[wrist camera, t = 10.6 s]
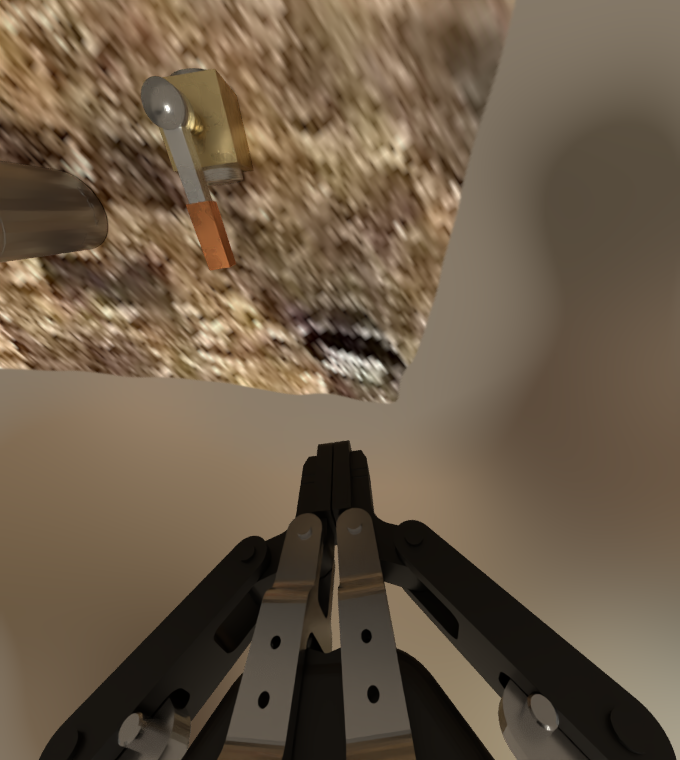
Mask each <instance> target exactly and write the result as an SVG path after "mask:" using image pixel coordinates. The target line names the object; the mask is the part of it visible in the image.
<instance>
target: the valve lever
mask: <svg viewBox="0 0 680 760" xmlns="http://www.w3.org/2000/svg"><path fill="white" fill-rule="evenodd" d="M141 100H142V104H143V107H144V110H145V112H146V114H147V115H148V117H149V118H150V119H151V121H152V122H153V123H155V124H156V125H157V126H159V127H161V128H163V131H164V134H165V136H166V139H167V142H168V145H169V148H170V150H171V153H172V156H173V159H174V162H175V164H176V167H177V170H178V173H179V176H180V178H181V181H182V184H183V187H184V190H185V192H186V195H187V198H188V201H189V203H190V204H187V205H186V207H187V209H188V212H189V215H190V217H191V220H192V223H193V226H194V228H195V231H196V234H197V237H198V239H199V242H200V245H201V248H202V250H203V253H204V256H205V259H206V261H207V264H208V267H209V270H215V269H221V268H227V267H231V266H233V265H235V264H236V263H235V260H234V256H233V253H232V250H231V247H230V244H229V241H228V237H227V234H226V231H225V228H224V225H223V222H222V218H221V215H220V212H219V209H218V206H217V203H216V202H215V201H212V198H211V195H210V192H209V189H208V186H207V183H206V180H205V177H204V174H203V170H202V167H201V164H200V161H199V158H198V155H197V152H196V149H195V146H194V142H193V139H192V136H191V133H190V132H191V131H192V129H193V127H194V123H195V115H194V110H193V107H192V105H191V103H190V101H189V99H188V98H187V97H186V96H185V95H184V94H183V93H182V92H181V91H179V90H178V89H177V88H176V87H174V86H173V85H172V84H171V83H169V82H168V81H167V80H165V79H164V78H161V77H158V76H153V77H150V78H148V79H147V80H146V81H145V82H144V84H143V86H142V89H141Z"/></svg>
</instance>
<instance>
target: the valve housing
mask: <svg viewBox="0 0 680 760" xmlns="http://www.w3.org/2000/svg"><path fill="white" fill-rule="evenodd" d="M163 78H164V79H165V80H167V81H168V82H169V83H171V84H172V85H173V86H174V87H176V88H177V89H178V90H179V91H181V92H182V93H183V94H184V95H185V96H186V97H187V98H188V99H189V101H190V103H191V105H192V107H193V110H194V115H195V123H194V127H193V129H192V131H191V132H190V133H191V136H192V139H193V142H194V146H195V149H196V152H197V155H198V158H199V161H200V164H201V167H202V170H203V174H204V177H205V180H206V183H207V185H223V184H231V183H236V182H240V181H243V175H242V172H245V171H252V170H253V166H252V162H251V157H250V153H249V148H248V144H247V140H246V135H245V131H244V126H243V122H242V117H241V113H240V109H239V104H238V100H237V96H236V94H235V93H234V92H233V91H232V89H231V88H230V87H229V86H228V84H227V83H226V82H225V81H224V80H223V78H222V77H221V76H220V75H219V73H218V72H217V71H216V70H215V69H210V70H204V69H195V68H193V69H183V70H179V71H176V72H174V73H172V74H171V75H170V76H169V77H163ZM145 81H146V80H145ZM145 81H143V82H145ZM159 129H160V132H161V135H162V138H163V141H164V144H165V147H166V150H167V152H168V155H169V158H170V161H171V164H172V167H173V170H174V171H175V172H178V170H177V167H176V164H175V162H174V159H173V156H172V153H171V150H170V148H169V145H168V142H167V139H166V136H165V134H164V131H163V128H161V127H159Z"/></svg>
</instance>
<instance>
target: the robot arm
mask: <svg viewBox="0 0 680 760" xmlns="http://www.w3.org/2000/svg"><path fill="white" fill-rule="evenodd" d="M106 234H107V219H106V215H105V212H104V209H103V207H102V205H101V203H100V202H99V200H98V198H97V197H96V196H95V194H94V193H93V192H92V191H91V190H90V189H89V188H88V187H87V186H86V185H85V184H84V183H83V182H82V181H80V180H79V179H78V178H76V177H74V176H72V175H71V174H69V173H66V172H63V171H60V170H54V169H48V168H42V167H35V166H30V165H24V164H18V163H11V162H5V161H0V262H7V261H14V260H20V259H27V258H34V257H41V256H48V255H54V254H61V253H69V252H75V251H82V250H88V249H93V248H96V247H98V246H99V245H100V244H101V243H102V242H103V241H104V239H105V238H106ZM335 545H337V546H338V560H339V561H338V562H339V577H340V585H339V587H338V608H339V623H340V643H341V648H339V649H337V650H334V651H332V631H331V612H332V599H333V587H334V574H335V560H334V548H335ZM384 582H387V583H391V584H394V585H397V586H400V587H402V588H403V589H404V591H405V592H406V593H407V594H408V595H409V596H410V597H411V599H412V600H413V601H414V602H415V603H416V604H417V605H418V606H419V607H420V609H421V610H422V611H423V612H424V613H425V614H426V615H427V616H428V617H429V619H430V620H431V621H432V622H433V623H434V624H435V625H436V626H437V627H438V629H439V630H440V631H441V632H442V633H443V634H444V635H445V636H446V637H447V638H448V639H449V641H450V642H451V643H452V644H453V645H454V646H455V647H456V648H457V650H458V651H459V652H460V653H461V654H462V655H463V656H464V657H465V658H466V660H467V661H468V662H469V663H470V664H471V665H472V666H473V667H474V668H475V669H476V671H477V672H478V673H479V674H480V675H481V676H482V677H483V678H484V679H485V681H486V682H487V683H488V684H489V685H490V686H491V687H492V688H493V689H494V691H495V692H496V693H497V694H498V695H499V696H500V697H501V700H500V703H499V710H498V716H499V723H500V728H501V731H502V734H503V737H504V739H505V741H506V743H507V745H508V747H509V748H510V750H511V751H512V753H513V754H514V756H515V757H516V758H517V760H676V756H675V753H674V750H673V748H672V745H671V743H670V741H669V739H668V737H667V735H666V733H665V732H664V730H663V729H662V727H661V726H660V724H659V723H658V721H657V720H656V719H655V717H653V715H652V714H651V713H650V712H649V711H648V709H646V707H645V706H643V704H641V703H640V702H639V701H638V700H637V699H636V698H634V697H633V696H632V695H631V694H630V693H628V692H627V691H626V690H625V689H624V688H622V687H621V686H620V685H619V684H618V683H616V682H615V681H614V680H613V679H612V678H610V677H609V676H608V675H607V674H605V673H604V672H603V671H602V670H601V669H600V668H598V667H597V666H596V665H595V664H593V663H592V662H591V661H590V660H589V659H587V658H586V657H585V656H584V655H583V654H581V653H580V652H579V651H578V650H577V649H575V648H574V647H573V646H572V645H570V644H569V643H568V642H567V641H566V640H564V639H563V638H562V637H561V636H560V635H558V634H557V633H556V632H555V631H554V630H552V629H551V628H550V627H549V626H547V625H546V624H545V623H544V622H542V621H541V620H540V619H539V618H538V617H537V616H535V615H534V614H533V613H532V612H530V611H529V610H528V609H527V608H526V607H524V606H523V605H522V604H521V603H520V602H518V601H517V600H516V599H515V598H514V597H512V596H511V595H510V594H509V593H508V592H506V591H505V590H504V589H503V588H501V587H500V586H499V585H498V584H496V583H495V582H494V581H493V580H492V579H490V578H489V577H488V576H487V575H486V574H485V573H483V572H482V571H481V570H480V569H478V568H477V567H476V566H475V565H474V564H472V563H471V562H470V561H469V560H467V559H466V558H465V557H464V556H463V555H461V554H460V553H459V552H458V551H457V550H456V549H454V548H453V547H452V546H451V545H449V544H448V543H447V542H446V541H445V540H443V539H442V538H441V537H440V536H439V535H437V534H436V533H435V532H434V531H432V530H431V529H430V528H429V527H428V526H426V525H425V524H424V523H422V522H419V521H415V520H408V521H405V522H403V523H401V524H400V525H399V526H398V525H394V524H389V523H386V522H384V521H382V520H380V519H379V518H378V517H377V516H376V515H375V514H374V508H373V499H372V490H371V481H370V475H369V470H368V464H367V458H366V456H365V455H364V454H363V452H362V451H361V450H358V451H352V450H351V446H350V441H349V440H348V441H341V442H335V443H327V444H319V445H318V450H317V456H312V457H309V458H308V459H307V461H306V462H305V464H304V466H303V471H302V479H301V486H300V492H299V499H298V505H297V513H296V517H295V519H294V520H293V521H292V522H291V523H290V524H289V527H288V529H287V530H286V531H285V532H283V533H282V534H280V535H278V536H276V537H273V538H271V539H269V540H267V541H264V539H263V538H261V537H259V536H250V537H248V538H245V539H243V540H242V541H241V542H240V543H238V545H236V546H235V547H234V549H233V550H232V551H231V552H230V553H229V554H228V555H227V556H226V557H225V558H224V559H223V560H222V561H221V562H220V563H219V564H218V565H217V566H216V567H215V568H214V569H213V570H212V571H211V572H210V573H209V574H208V575H207V576H206V578H204V579H203V580H202V581H201V583H199V584H198V586H197V587H196V588H195V589H194V590H193V591H192V592H191V593H190V594H189V595H188V596H187V597H186V598H185V599H184V600H183V601H182V602H181V603H180V604H179V605H178V606H177V607H176V608H175V609H174V610H173V611H172V612H171V613H170V614H169V615H168V617H166V618H165V619H164V620H163V622H162V623H161V624H160V625H159V626H158V627H157V628H156V629H155V630H154V631H153V632H152V633H151V634H150V635H149V636H148V637H147V638H146V639H145V640H144V641H143V642H142V643H141V644H140V645H139V646H138V647H137V648H136V649H135V650H134V651H133V652H132V653H131V654H130V655H129V656H128V657H127V658H126V660H125V661H124V662H123V663H122V664H121V665H120V666H119V667H118V668H117V669H116V670H115V671H114V672H113V673H112V674H111V675H110V676H109V677H108V678H107V679H106V680H105V681H104V682H103V683H102V684H101V685H100V686H99V687H98V688H97V689H96V690H95V691H94V693H92V694H91V696H90V697H89V698H88V699H87V700H86V701H85V702H84V703H83V704H82V705H81V706H80V707H79V708H78V709H77V710H76V711H75V712H74V713H73V714H72V715H71V716H70V717H69V718H68V719H67V720H66V721H65V722H64V723H63V724H62V726H61V727H60V728H59V729H58V730H57V731H56V733H55V734H54V735H53V736H52V738H51V739H50V741H49V742H48V744H47V745H46V747H45V749H44V751H43V752H42V754H41V757H40V759H39V760H495V759H494V758H493V757H492V755H491V754H490V753H489V752H488V750H487V749H486V747H485V746H484V745H483V743H482V742H481V741H480V739H479V738H478V737H477V735H476V734H475V732H474V731H473V730H472V729H471V727H470V726H469V724H468V723H467V722H466V720H465V719H464V718H463V716H462V715H461V714H460V712H459V711H458V710H457V708H456V707H455V706H454V704H453V703H452V702H451V700H450V699H449V698H448V696H447V695H446V694H445V692H444V691H443V689H442V688H441V687H440V685H439V684H438V683H437V681H436V680H435V679H434V677H433V676H432V675H431V673H430V672H429V671H428V670H427V669H426V668H425V667H424V666H423V665H422V664H421V663H420V662H419V661H417V660H416V659H415V658H414V657H412V656H411V655H409V654H408V653H406V652H404V651H402V650H400V649H397V648H396V643H395V637H394V632H393V627H392V621H391V616H390V611H389V606H388V601H387V595H386V589H385V584H384ZM251 641H252V642H251ZM250 642H251V646H250V650H249V653H248V657H247V661H246V665H245V669H244V672H243V673H242V674H241V675H240V676H239V677H238V679H237V680H236V681H235V682H234V683H233V685H232V686H231V688H230V689H229V690H228V692H227V693H226V695H225V696H224V698H223V699H222V701H221V702H220V704H219V705H218V706H217V708H216V710H215V711H214V712H213V714H212V715H211V717H210V718H209V720H208V721H207V722H206V724H205V726H204V727H203V728H202V730H201V731H200V733H199V734H198V736H197V737H196V739H195V740H194V741H193V743H192V744H191V746H190V747H189V749H188V744H189V737H190V731H191V721H192V720H193V718H194V717H195V716H196V714H197V713H198V712H199V710H200V709H201V708H202V706H203V705H204V704H205V702H206V701H207V699H208V698H209V697H210V696H211V694H212V693H213V692H214V690H215V689H216V688H217V686H218V685H219V683H220V682H221V681H222V680H223V678H224V677H225V676H226V674H227V673H228V672H229V670H230V669H231V668H232V666H233V665H234V663H235V662H236V661H237V659H238V658H239V657H240V656H241V654H242V653H243V651H244V650H245V649H246V648H247V646H248V645H249V644H250ZM187 749H188V750H187ZM186 751H187V752H186Z"/></svg>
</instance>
